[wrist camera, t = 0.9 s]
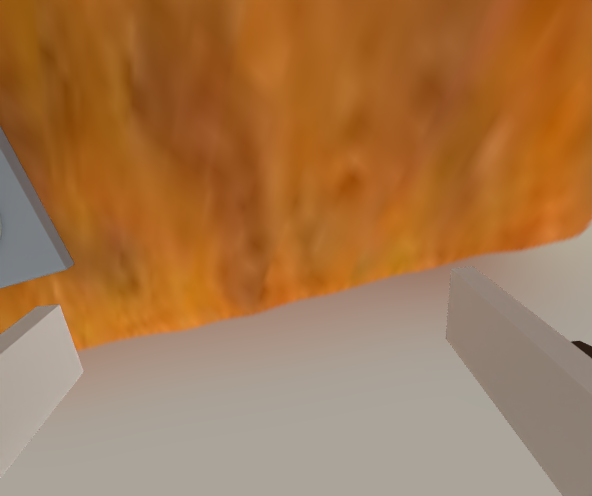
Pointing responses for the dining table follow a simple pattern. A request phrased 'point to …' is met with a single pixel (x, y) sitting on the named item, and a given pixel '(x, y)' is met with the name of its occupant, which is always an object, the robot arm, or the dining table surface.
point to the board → (25, 226)
